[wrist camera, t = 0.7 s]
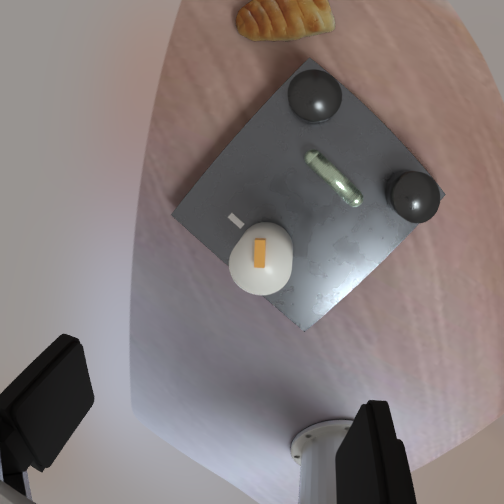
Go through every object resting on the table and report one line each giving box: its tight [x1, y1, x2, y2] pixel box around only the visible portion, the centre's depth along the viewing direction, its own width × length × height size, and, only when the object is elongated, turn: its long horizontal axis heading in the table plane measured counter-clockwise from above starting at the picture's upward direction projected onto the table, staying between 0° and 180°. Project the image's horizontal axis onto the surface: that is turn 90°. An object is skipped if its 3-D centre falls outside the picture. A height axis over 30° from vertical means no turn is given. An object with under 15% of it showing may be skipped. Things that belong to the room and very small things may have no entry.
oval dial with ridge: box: [229, 222, 293, 295], centre depth 27 cm, size 5×5×6 cm
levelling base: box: [171, 58, 446, 332], centre depth 28 cm, size 18×20×5 cm
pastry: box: [236, 0, 335, 41], centre depth 24 cm, size 9×7×4 cm
